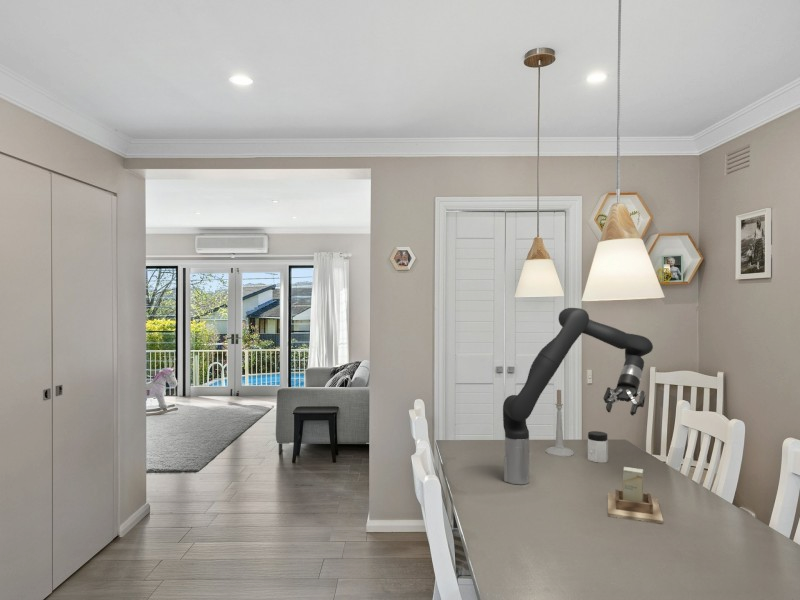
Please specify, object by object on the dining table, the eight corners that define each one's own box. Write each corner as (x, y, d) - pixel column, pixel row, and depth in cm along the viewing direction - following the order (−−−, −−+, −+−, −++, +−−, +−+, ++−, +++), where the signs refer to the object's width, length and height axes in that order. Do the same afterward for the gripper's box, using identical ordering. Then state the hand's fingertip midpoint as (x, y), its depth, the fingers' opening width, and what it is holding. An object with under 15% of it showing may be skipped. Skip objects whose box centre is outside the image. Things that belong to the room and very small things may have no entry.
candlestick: (577, 456, 233) (576, 391, 234) (549, 456, 233) (549, 391, 234) (568, 449, 246) (568, 387, 246) (542, 449, 246) (541, 387, 247)
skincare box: (622, 506, 171) (622, 469, 171) (623, 501, 175) (623, 466, 175) (643, 509, 168) (642, 472, 168) (644, 505, 172) (643, 469, 172)
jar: (583, 458, 229) (583, 432, 230) (596, 456, 233) (595, 430, 234) (599, 464, 222) (599, 436, 222) (612, 461, 225) (612, 434, 226)
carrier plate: (608, 516, 165) (607, 503, 165) (607, 495, 183) (607, 484, 183) (663, 524, 159) (662, 511, 159) (657, 501, 177) (657, 490, 177)
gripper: (608, 371, 202) (598, 404, 193) (646, 374, 192) (637, 409, 184) (613, 383, 206) (603, 416, 197) (651, 386, 196) (642, 421, 187)
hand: (619, 412), depth 190 cm, fingers open, 8 cm apart
